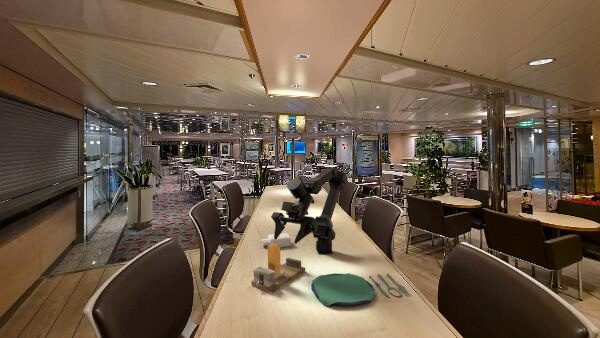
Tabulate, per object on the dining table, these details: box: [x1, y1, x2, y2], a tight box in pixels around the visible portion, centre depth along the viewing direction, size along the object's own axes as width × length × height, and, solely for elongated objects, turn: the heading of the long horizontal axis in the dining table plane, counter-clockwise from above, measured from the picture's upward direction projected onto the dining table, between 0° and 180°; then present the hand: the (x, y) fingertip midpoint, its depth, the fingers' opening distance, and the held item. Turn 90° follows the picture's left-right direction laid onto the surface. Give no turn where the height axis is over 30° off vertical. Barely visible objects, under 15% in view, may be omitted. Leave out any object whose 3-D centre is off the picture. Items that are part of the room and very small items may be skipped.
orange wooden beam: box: [256, 244, 285, 286], centre depth 91 cm, size 11×5×11 cm, turn 145°
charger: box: [257, 232, 292, 248], centre depth 133 cm, size 5×9×15 cm
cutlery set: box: [310, 272, 412, 307], centre depth 87 cm, size 20×30×2 cm, turn 98°
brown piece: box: [251, 257, 306, 293], centre depth 97 cm, size 19×9×6 cm, turn 146°
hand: (284, 241), depth 99 cm, fingers open, 9 cm apart
